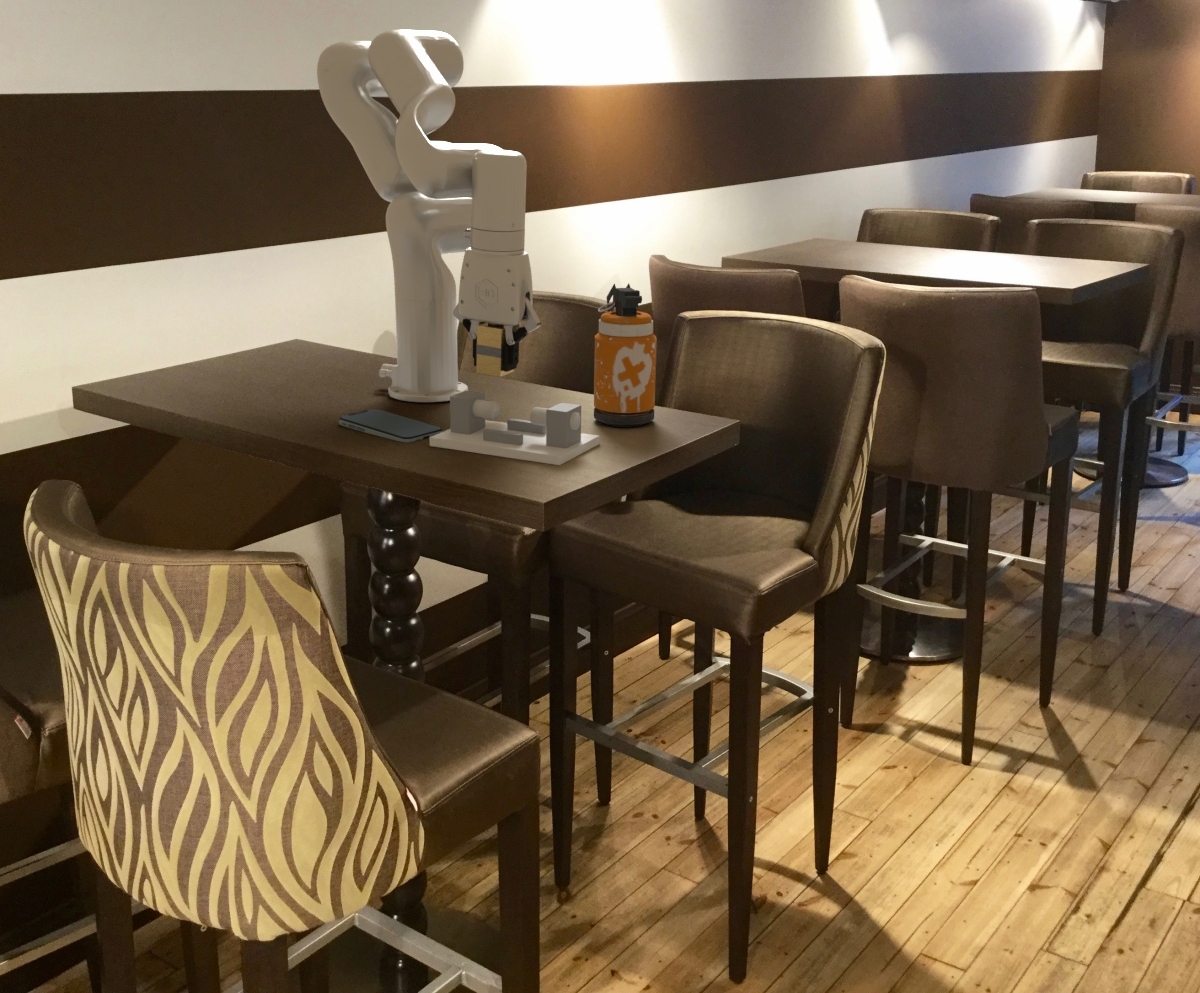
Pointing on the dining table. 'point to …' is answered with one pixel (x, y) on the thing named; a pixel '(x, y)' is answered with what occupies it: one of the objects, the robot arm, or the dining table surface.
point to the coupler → (490, 349)
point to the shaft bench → (515, 431)
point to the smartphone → (389, 425)
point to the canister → (624, 362)
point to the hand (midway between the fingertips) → (495, 365)
